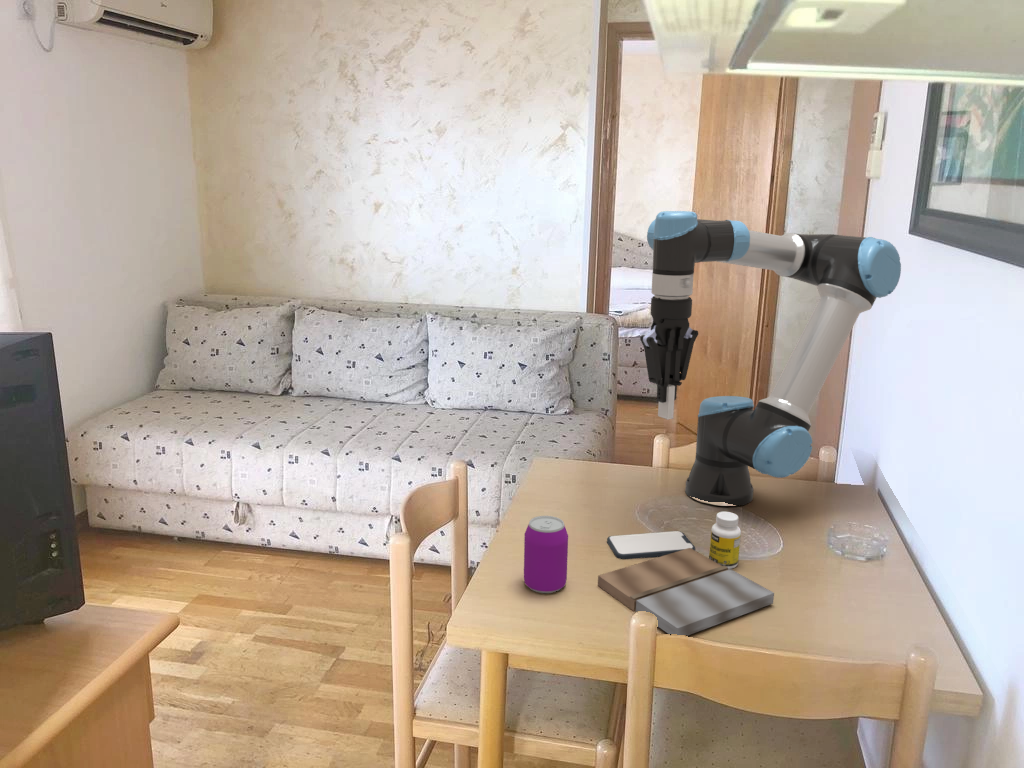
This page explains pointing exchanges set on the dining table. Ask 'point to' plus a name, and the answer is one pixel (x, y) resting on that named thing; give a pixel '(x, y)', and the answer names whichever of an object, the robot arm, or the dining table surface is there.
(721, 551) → the supplement bottle
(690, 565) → the walnut floor board
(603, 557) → the dining table surface
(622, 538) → the smartphone
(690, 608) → the grey plank
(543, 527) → the beverage can
